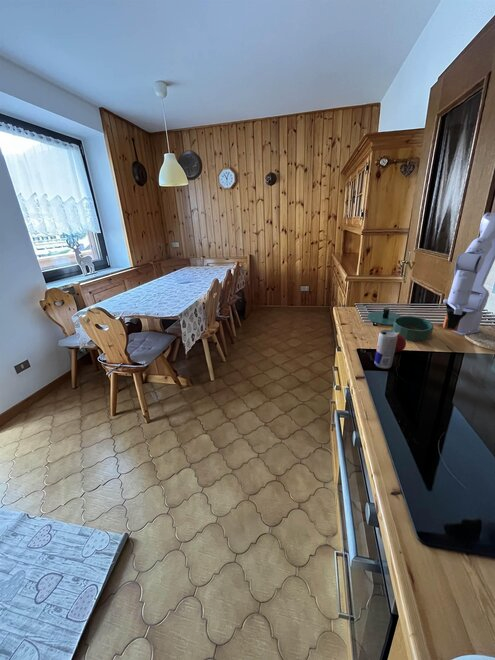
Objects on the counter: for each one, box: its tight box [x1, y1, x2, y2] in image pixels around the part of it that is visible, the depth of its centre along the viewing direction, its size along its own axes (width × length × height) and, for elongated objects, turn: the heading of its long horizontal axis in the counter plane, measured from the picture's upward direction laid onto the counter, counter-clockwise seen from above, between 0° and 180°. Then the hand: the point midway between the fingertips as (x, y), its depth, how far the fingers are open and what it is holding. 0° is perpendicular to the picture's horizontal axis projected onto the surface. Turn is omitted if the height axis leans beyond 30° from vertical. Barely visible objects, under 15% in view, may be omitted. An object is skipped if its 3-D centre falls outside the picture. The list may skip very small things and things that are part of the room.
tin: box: [391, 315, 434, 342], centre depth 112 cm, size 13×13×5 cm
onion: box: [394, 332, 407, 353], centre depth 100 cm, size 6×6×8 cm
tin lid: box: [367, 307, 402, 326], centre depth 124 cm, size 14×14×5 cm
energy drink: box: [373, 329, 398, 370], centre depth 93 cm, size 5×5×12 cm
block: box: [442, 314, 460, 332], centre depth 101 cm, size 4×4×4 cm
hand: (450, 325), depth 101 cm, fingers closed on block, 4 cm apart
